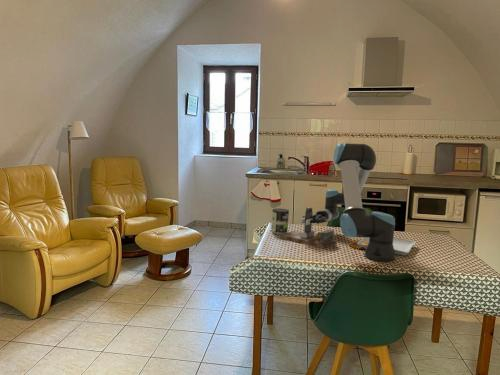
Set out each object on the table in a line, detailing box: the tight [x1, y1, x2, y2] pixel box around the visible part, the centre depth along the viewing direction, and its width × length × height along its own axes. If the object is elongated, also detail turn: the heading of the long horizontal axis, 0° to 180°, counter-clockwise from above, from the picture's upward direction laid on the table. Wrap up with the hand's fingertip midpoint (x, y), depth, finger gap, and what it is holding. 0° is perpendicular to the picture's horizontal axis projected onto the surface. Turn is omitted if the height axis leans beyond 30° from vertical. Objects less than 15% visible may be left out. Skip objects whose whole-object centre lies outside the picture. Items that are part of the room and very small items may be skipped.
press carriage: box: [301, 207, 316, 239], centre depth 228 cm, size 4×9×17 cm, turn 142°
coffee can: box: [271, 208, 290, 235], centre depth 245 cm, size 10×10×14 cm
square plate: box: [356, 236, 417, 256], centre depth 222 cm, size 27×27×4 cm
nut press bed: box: [280, 228, 337, 249], centre depth 228 cm, size 28×14×8 cm, turn 52°
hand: (303, 221), depth 223 cm, fingers closed on press carriage, 3 cm apart
